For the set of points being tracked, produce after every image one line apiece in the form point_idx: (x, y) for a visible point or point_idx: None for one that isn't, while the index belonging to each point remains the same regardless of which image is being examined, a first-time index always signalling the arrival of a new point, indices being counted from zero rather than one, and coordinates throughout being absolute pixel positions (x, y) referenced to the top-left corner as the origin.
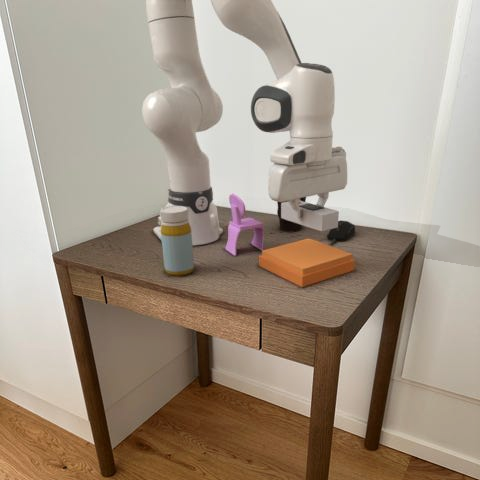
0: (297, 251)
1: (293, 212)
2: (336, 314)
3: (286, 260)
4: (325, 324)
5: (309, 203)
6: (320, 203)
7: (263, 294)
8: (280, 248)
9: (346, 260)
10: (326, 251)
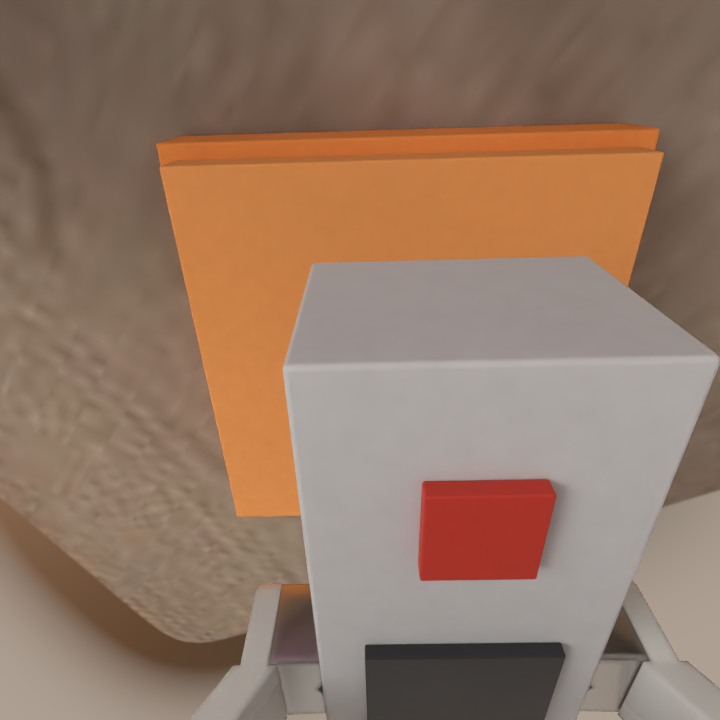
0: None
1: (250, 629)
2: (231, 616)
3: (224, 406)
4: (171, 631)
5: (554, 665)
6: (644, 713)
7: (68, 435)
8: (310, 216)
9: None
10: None
